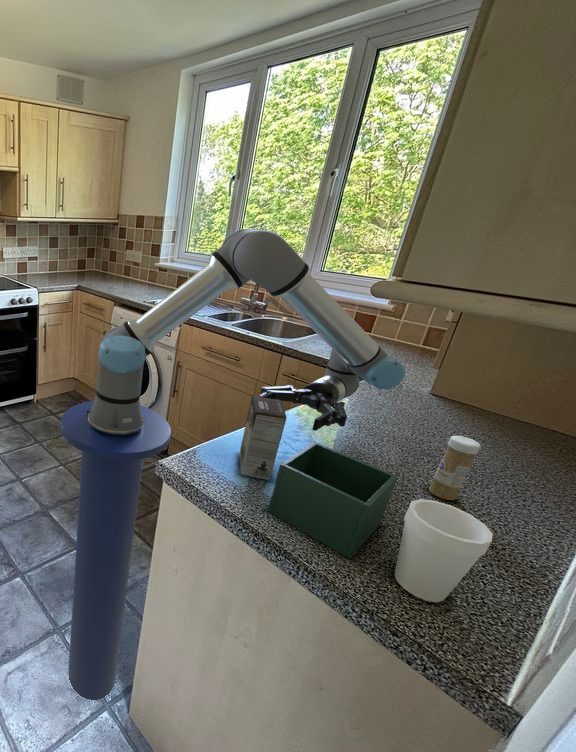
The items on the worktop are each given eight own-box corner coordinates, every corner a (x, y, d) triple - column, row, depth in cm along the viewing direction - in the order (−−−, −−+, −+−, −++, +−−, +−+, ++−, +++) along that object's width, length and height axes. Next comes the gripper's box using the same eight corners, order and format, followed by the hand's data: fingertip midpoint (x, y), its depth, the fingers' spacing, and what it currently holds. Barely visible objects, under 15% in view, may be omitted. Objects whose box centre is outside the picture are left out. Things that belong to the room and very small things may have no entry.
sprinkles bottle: (422, 487, 90) (445, 433, 85) (444, 488, 90) (468, 435, 85) (438, 500, 86) (463, 445, 81) (461, 502, 85) (487, 447, 81)
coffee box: (238, 454, 100) (251, 394, 94) (266, 459, 98) (281, 399, 92) (240, 475, 92) (254, 411, 86) (271, 481, 90) (288, 417, 84)
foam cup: (404, 605, 62) (435, 537, 57) (371, 558, 70) (395, 496, 66) (474, 616, 60) (511, 547, 56) (432, 566, 69) (461, 504, 64)
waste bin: (267, 511, 80) (280, 464, 77) (301, 485, 89) (314, 441, 85) (350, 559, 70) (369, 506, 66) (379, 524, 78) (398, 476, 74)
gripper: (373, 424, 101) (338, 450, 88) (274, 390, 119) (234, 407, 107) (382, 397, 98) (348, 420, 86) (279, 366, 116) (239, 381, 104)
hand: (284, 413), depth 96 cm, fingers open, 13 cm apart
